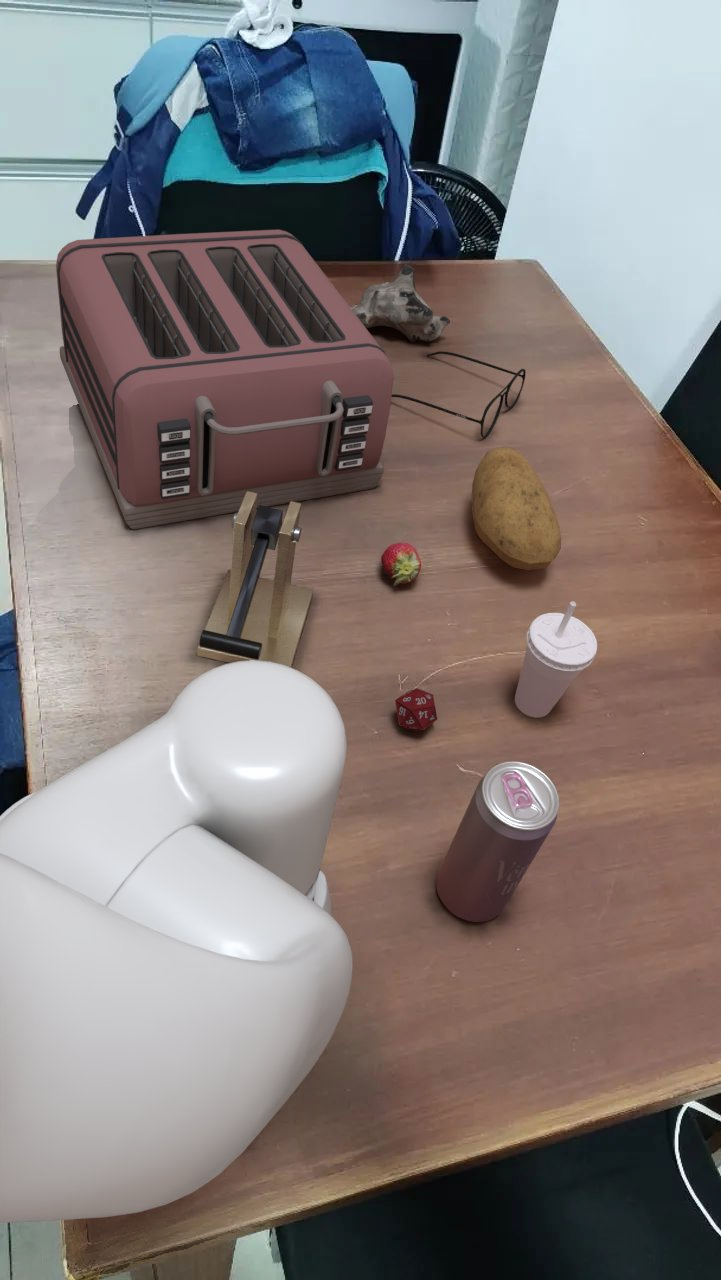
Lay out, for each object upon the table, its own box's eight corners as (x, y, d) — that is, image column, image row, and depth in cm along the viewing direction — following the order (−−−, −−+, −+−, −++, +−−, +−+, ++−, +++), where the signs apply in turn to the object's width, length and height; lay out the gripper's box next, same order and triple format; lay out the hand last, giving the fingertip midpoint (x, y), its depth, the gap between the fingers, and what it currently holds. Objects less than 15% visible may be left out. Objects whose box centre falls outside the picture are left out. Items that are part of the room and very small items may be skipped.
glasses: (479, 445, 117) (485, 411, 113) (377, 410, 122) (380, 376, 118) (522, 397, 126) (528, 363, 122) (426, 366, 131) (429, 333, 127)
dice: (400, 745, 84) (408, 719, 81) (386, 706, 86) (393, 680, 84) (438, 739, 85) (448, 713, 82) (423, 701, 88) (431, 675, 85)
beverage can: (488, 851, 78) (540, 751, 67) (517, 915, 74) (577, 822, 63) (424, 866, 76) (466, 766, 65) (450, 933, 72) (500, 840, 61)
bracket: (289, 676, 87) (305, 565, 76) (197, 655, 87) (200, 541, 76) (312, 597, 94) (330, 485, 84) (227, 578, 94) (234, 463, 84)
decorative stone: (338, 342, 126) (350, 267, 121) (331, 323, 134) (342, 251, 128) (449, 356, 130) (465, 283, 124) (436, 337, 137) (451, 267, 131)
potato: (483, 593, 99) (507, 529, 92) (450, 499, 109) (468, 435, 102) (557, 592, 101) (585, 529, 94) (517, 499, 111) (540, 436, 104)
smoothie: (499, 673, 91) (540, 574, 81) (560, 681, 92) (609, 583, 82) (503, 725, 87) (547, 627, 77) (568, 732, 88) (620, 636, 77)
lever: (258, 665, 76) (258, 652, 74) (199, 651, 76) (198, 639, 74) (297, 528, 83) (298, 513, 81) (243, 516, 83) (243, 501, 81)
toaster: (137, 561, 94) (131, 421, 81) (59, 364, 115) (45, 228, 102) (397, 513, 105) (427, 384, 93) (284, 342, 126) (296, 217, 113)
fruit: (411, 555, 101) (420, 522, 97) (421, 595, 97) (430, 561, 93) (373, 555, 100) (381, 521, 96) (382, 594, 96) (390, 560, 93)
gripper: (65, 866, 43) (94, 1002, 57) (355, 998, 41) (313, 1106, 55) (146, 749, 48) (155, 899, 62) (409, 861, 46) (358, 991, 60)
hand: (229, 996), depth 58 cm, fingers closed
